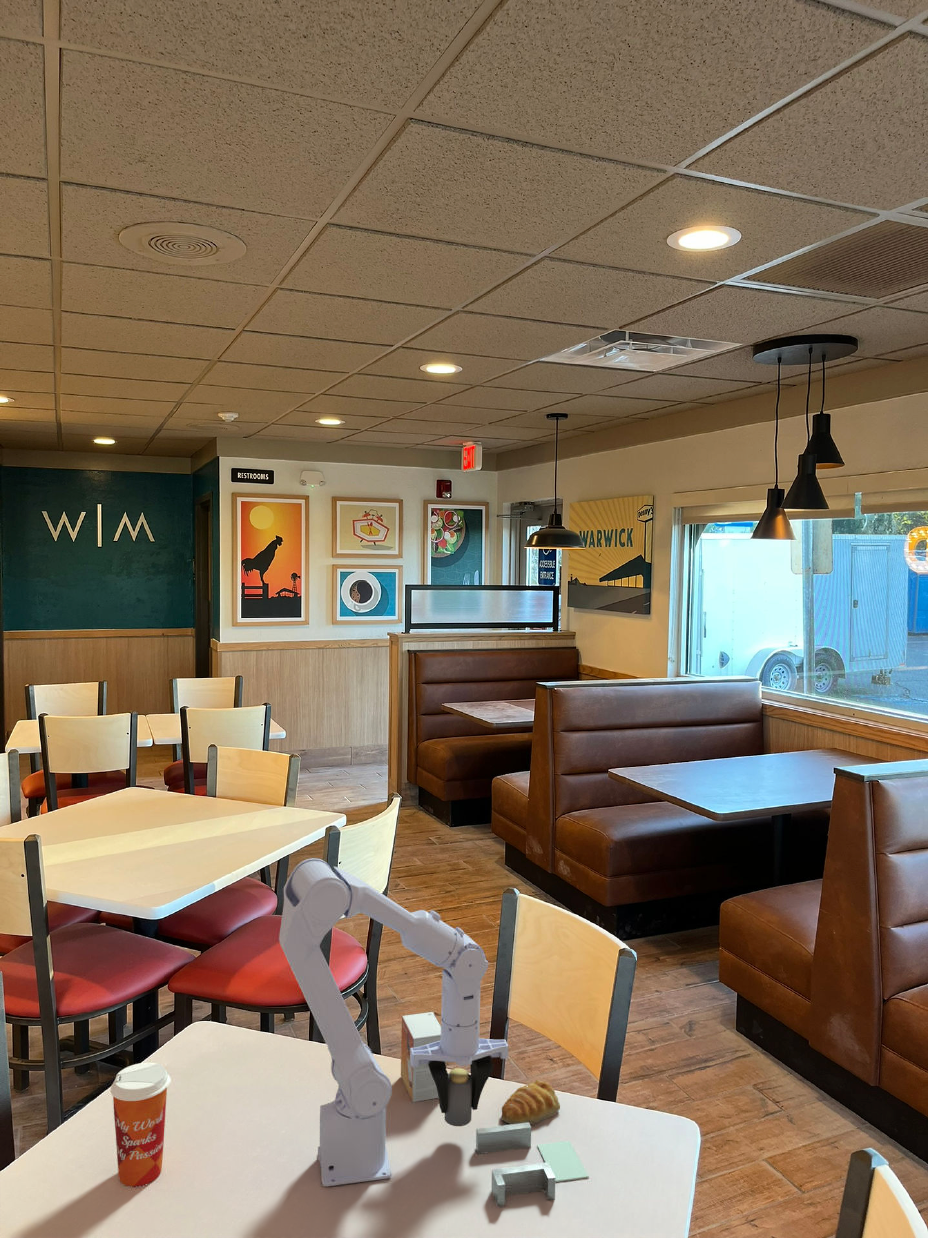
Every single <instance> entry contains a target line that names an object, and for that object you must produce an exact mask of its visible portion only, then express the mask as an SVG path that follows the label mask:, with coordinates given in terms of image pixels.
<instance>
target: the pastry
mask: <svg viewBox="0 0 928 1238" xmlns="http://www.w3.org/2000/svg"><path fill="white" fill-rule="evenodd" d="M527 1086H528V1087H527ZM559 1110H561V1104H560V1102H559V1098H558V1096H557V1095H556V1092H555V1089H554V1088H553V1087H552V1086H551V1084H550V1083H548V1082H547V1081H544V1080H543V1081H541V1080H538V1079H537V1080H535V1081H533V1082H532V1083H529V1084H527V1085H524V1086H520V1087H518V1088H517V1089H516V1090H515V1091H514V1092H513V1093H512V1094H511V1095H510V1096H509V1098H508V1099H506V1101H505V1102H504V1104H503V1105H502V1106H501V1120H503V1121H504V1122H506V1123H507V1124H509V1125H511V1124H519V1123H528V1122H529V1124H530V1125H531V1124H532V1125H533V1124H538V1123H539V1122H542V1121H544V1120H547V1119H549V1118H551V1117H552V1116H555V1115H556V1114H557V1113H558V1111H559Z"/></svg>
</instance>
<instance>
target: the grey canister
mask: <svg viewBox="0 0 928 1238" xmlns="http://www.w3.org/2000/svg"><path fill="white" fill-rule="evenodd" d="M448 1075H449V1076H448V1082H447V1113H444V1121H445V1122H446V1123H447V1124H448V1125H450V1126H453V1127H465V1126H466V1125H469V1124H470V1123H471V1122H472V1112H473V1109H472V1076H471V1073H469V1071H468V1070H466V1069H464V1068H460V1067H459V1068H458V1067H456V1068H453V1069H451V1070H450V1071H449V1072H448Z"/></svg>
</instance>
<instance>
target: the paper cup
mask: <svg viewBox="0 0 928 1238" xmlns="http://www.w3.org/2000/svg"><path fill="white" fill-rule="evenodd" d="M171 1080H172V1079H171V1076H170V1075H169V1073H168V1072H167V1071H166V1069H165V1067H164V1066H162V1065H161V1064H159V1063H156V1062H141V1063H135V1064H132V1065H129V1066H127V1067H124V1068H123V1069H122V1070H120V1071H119V1072H118V1073H117V1074H116V1076H115V1079H114V1081H113V1083H112V1084H111V1086H110V1093H111V1095H112V1096H113V1097H112V1099H113V1100H112V1102H113V1117H114V1118H113V1120H114V1128H115V1142H116V1156H117V1159H116V1160H117V1171H118V1180H119V1182H120V1184H122V1185H123V1184H124V1185H123V1186H124V1187H127V1186H130V1187H129V1188H139V1186H140V1187H143V1185H144V1186H147V1185H149V1184H151V1183H153V1182H155V1181H156V1180H157V1179H158V1178H159V1176H160V1175H161V1173H162V1170H163V1169H162V1168H163V1155H164V1154H163V1153H164V1141H165V1126H166V1124H165V1122H166V1109H167V1108H166V1107H167V1095H168V1092H167V1089H168V1087H169V1085H170V1084H171ZM146 1184H147V1185H146ZM131 1186H132V1187H131ZM136 1186H137V1187H136Z"/></svg>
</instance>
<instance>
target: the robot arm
mask: <svg viewBox="0 0 928 1238" xmlns="http://www.w3.org/2000/svg"><path fill="white" fill-rule="evenodd" d="M333 869H334V871H335V872H334V871H333ZM333 869H332V868H331V866H330V864H329V863H328V862H326V861H325V860H323V859H320V858H314V857H313V858H312V857H311V858H307V859H304V860H302V861H301V862H299V863H298V864H297V865H296V866H295V867H294V868H293V870H292V871H291V873H290V875H289V877H288V879H287V880H286V882H285V885H284V887H283V908H282V914H281V922H280V923H281V924H280V928H279V929H280V930H279V935H278V936H279V938H278V940H279V945H280V948H281V949H282V951H283V953H284V956H285V958H286V960H287V962H288V964H289V966H290V969H291V971H292V973H293V975H294V978H295V980H296V982H297V984H298V987H299V988H300V989H301V992H302V994H303V997H304V999H305V1001H306V1003H307V1005H308V1008H309V1010H310V1012H311V1013H312V1016H313V1018H314V1021H315V1022H316V1025H317V1027H318V1029H319V1032H320V1033H321V1036H322V1037H323V1039H324V1042H325V1043H326V1047H327V1050H328V1052H329V1054H330V1057H331V1058H330V1059H331V1064H330V1065H331V1066H330V1070H331V1071H330V1072H331V1074H332V1077H333V1079H334V1080H335V1081H336V1083H337V1084H338V1088H337V1091H336V1094H335V1097H334V1100H332V1101H331V1102H327V1103H325V1104H322V1105H320V1106H319V1107H320V1108H319V1145H318V1146H317V1160H318V1161H317V1162H319V1165H320V1172H321V1173H320V1176H321V1185H322V1186H323V1187H332V1186H339V1185H340V1186H341V1185H347V1184H355V1183H361V1182H371V1181H377V1180H386V1179H390V1178H392V1171H391V1165H390V1160H389V1156H388V1151H387V1146H386V1139H387V1138H386V1134H387V1133H386V1127H387V1125H386V1124H387V1120H386V1119H387V1118H386V1117H387V1105H388V1104H389V1102H390V1100H391V1098H392V1097H391V1096H392V1092H393V1090H392V1088H393V1087H392V1082H391V1080H390V1078H389V1076H388V1075H386V1074H385V1073H384V1071H383V1070H382V1068H381V1066H380V1065H379V1063H378V1062H377V1060H376V1058H375V1056H374V1055H373V1052H372V1049H371V1048H370V1047H369V1046H368V1045H367V1044H366V1043H365V1042H363V1040H362V1037H361V1034H360V1032H359V1031H358V1028H357V1026H356V1024H355V1022H354V1019H353V1017H352V1015H351V1013H350V1011H349V1009H348V1006H347V1004H346V1001H345V999H344V997H343V995H342V992H341V991H340V988H339V986H338V984H337V982H336V980H335V977H334V975H333V973H332V970H331V968H330V966H329V965H328V962H327V960H326V957H325V956H324V954H323V952H322V950H321V943H322V942H323V939H324V938H325V936H326V935H327V934H328V933H329V932H330V931H331V929H332V928H333V927H334V926H335V925H336V924H337V922H338V921H339V920H340V919H341V918H342V917H343V916H344V917H345V918H346V919H351V918H353V917H355V916H357V915H359V914H363V915H365V916H367V917H369V918H371V919H372V920H374V921H377V922H378V923H380V924H382V925H383V926H386V927H387V928H389V929H392V930H393V931H395V932H397V934H398V933H399V934H400V935H399V936H400V940H401V944H402V946H403V947H404V948H405V949H407V950H409V951H410V952H412V953H414V954H416V955H417V956H419V957H421V958H423V959H424V960H426V961H427V962H429V963H431V964H432V965H434V966H436V967H439V968H443V969H442V971H441V972H442V974H441V975H442V977H441V979H442V980H441V981H442V982H441V1005H440V1006H441V1010H440V1011H441V1012H440V1013H441V1015H440V1026H441V1041H437V1042H434V1043H430V1044H427V1045H424V1046H420V1047H415V1048H410V1062H411V1065H412V1067H419V1064H428V1066H429V1069H430V1072H431V1075H432V1077H433V1079H434V1081H435V1084H436V1087H437V1092H438V1097H439V1098H438V1105H439V1108H440V1112H441V1114H445V1113H447V1082H448V1076H449V1075H448V1074H449V1072H448V1071H447V1064H445V1062H446V1063H447V1062H448V1063H457V1065H458V1066H463V1067H465V1066H470V1067H469V1068H470V1075H471V1076H472V1111H476V1110H478V1107H479V1106H478V1105H479V1101H480V1098H481V1095H482V1092H483V1090H484V1088H485V1085H486V1083H487V1080H489V1077H490V1076H491V1075H492V1073H493V1070H494V1065H493V1062H492V1058H500V1059H501V1060H505V1059H508V1058H509V1044H508V1043H507V1041H506V1039H505V1038H504V1039H489V1038H480V1021H481V1020H480V1018H481V1017H480V1016H481V1013H480V1012H481V982H482V979H484V976H485V975H486V973H487V970H488V968H489V961H488V960H487V958H486V954H485V953H484V950H483V948H482V947H481V946H480V945H479V944H478V943H477V942H475V941H474V940H473V939H472V938H471V937H470V936H469V935H468V934H466V933H465V931H463V929H462V928H460V927H459V926H456V927H455V928H454V927H452V926H450V924H448V923H445V922H444V921H443V920H442V919H441V918H442V917H441V915H440V914H439V913H438V912H436V911H434V910H432V909H431V910H430V912H428V911H426V910H423V909H420V910H417V911H413V912H410V911H408V910H407V909H406V908H404V907H403V906H401V905H400V904H398V903H397V902H395V901H393V900H392V899H391V898H389V897H388V896H386V895H384V894H383V893H382V892H380V891H379V890H377V889H375V888H374V887H373V886H371V885H370V884H368V883H367V882H366V881H364V880H362V879H361V878H358V877H356V876H355V875H353V874H351V873H349V872H347V871H345V870H344V869H342V868H339V867H337V866H334V865H333Z"/></svg>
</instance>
